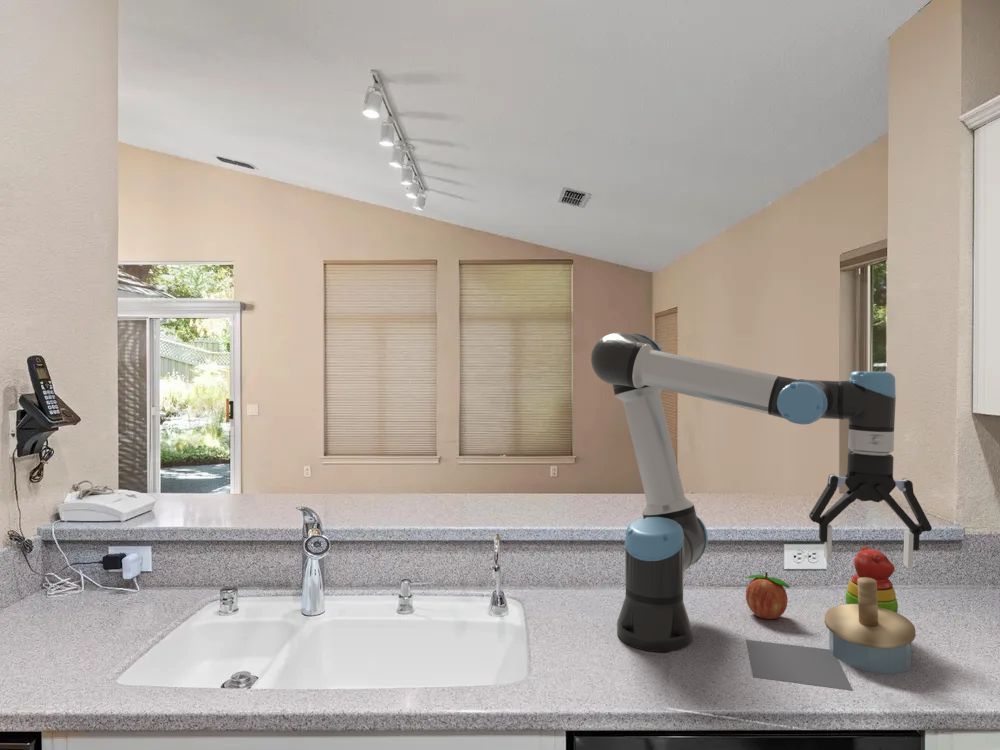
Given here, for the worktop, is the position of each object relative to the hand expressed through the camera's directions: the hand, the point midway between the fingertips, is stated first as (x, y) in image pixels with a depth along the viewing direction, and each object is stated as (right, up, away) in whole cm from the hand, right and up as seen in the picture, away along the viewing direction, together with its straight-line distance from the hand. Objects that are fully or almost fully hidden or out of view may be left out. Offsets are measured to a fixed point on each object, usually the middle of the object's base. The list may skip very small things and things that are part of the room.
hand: (867, 562), depth 120 cm
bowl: (0, -18, 0) cm, 18 cm away
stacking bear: (+7, -18, +10) cm, 22 cm away
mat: (-15, -18, -3) cm, 24 cm away
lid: (0, -12, 0) cm, 12 cm away
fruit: (-11, -18, +20) cm, 29 cm away
